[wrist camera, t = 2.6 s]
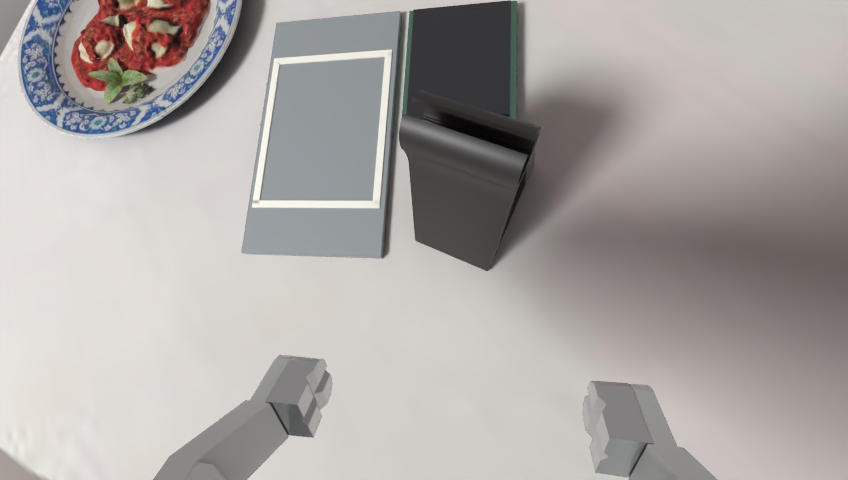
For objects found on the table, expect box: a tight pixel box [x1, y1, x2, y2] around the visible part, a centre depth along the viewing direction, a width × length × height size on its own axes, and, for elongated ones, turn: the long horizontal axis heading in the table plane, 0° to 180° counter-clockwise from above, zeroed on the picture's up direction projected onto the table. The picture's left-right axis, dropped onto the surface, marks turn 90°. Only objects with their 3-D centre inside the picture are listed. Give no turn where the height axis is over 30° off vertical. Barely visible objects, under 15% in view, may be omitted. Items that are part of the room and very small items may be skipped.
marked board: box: [241, 11, 401, 258], centre depth 30 cm, size 12×22×1 cm, turn 177°
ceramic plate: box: [18, 0, 242, 139], centre depth 35 cm, size 26×26×3 cm
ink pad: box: [402, 1, 517, 120], centre depth 29 cm, size 9×11×2 cm
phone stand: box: [399, 90, 541, 271], centre depth 21 cm, size 9×6×12 cm, turn 156°
